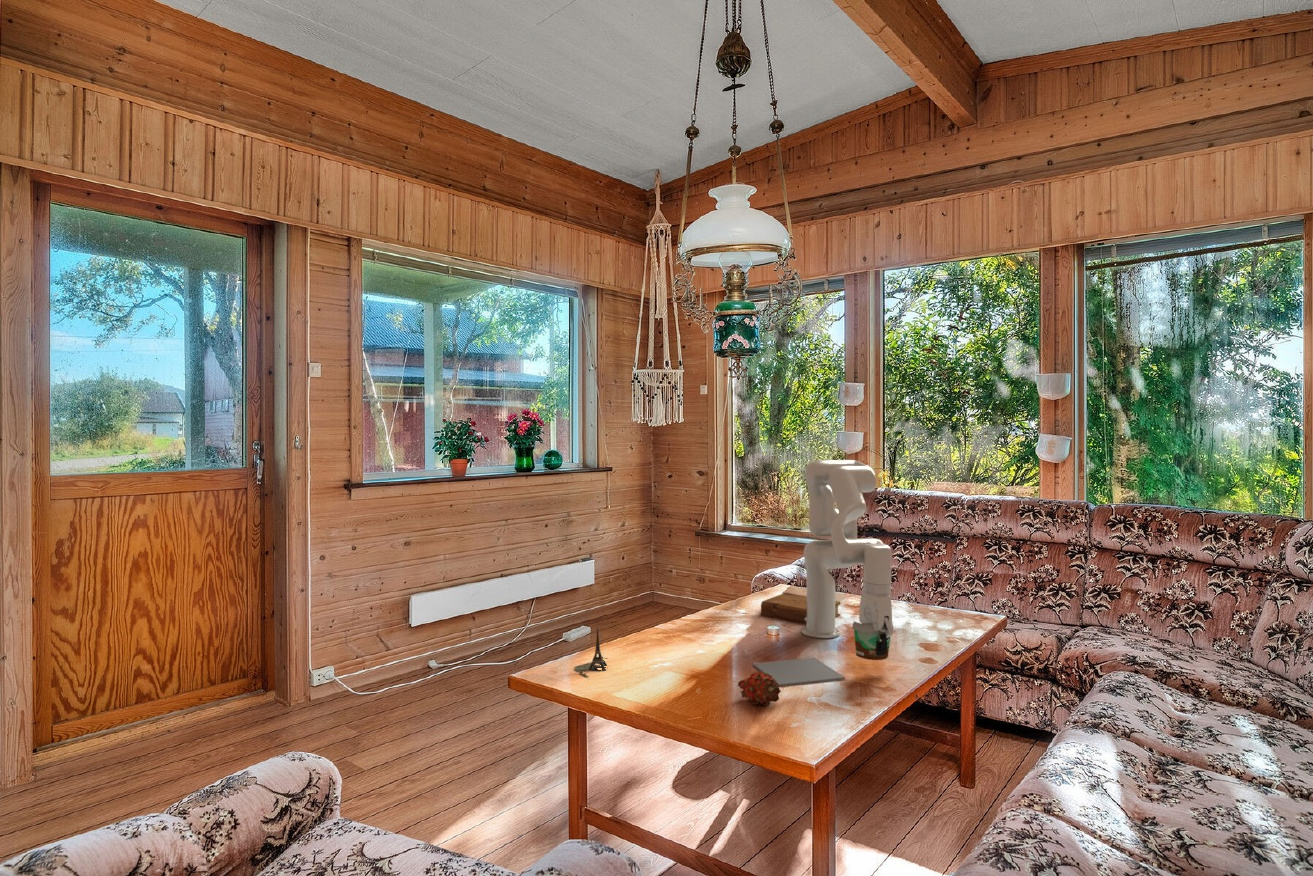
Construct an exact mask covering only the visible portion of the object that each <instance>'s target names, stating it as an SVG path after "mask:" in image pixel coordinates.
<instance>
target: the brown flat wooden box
mask: <svg viewBox="0 0 1313 876" xmlns="http://www.w3.org/2000/svg"><path fill="white" fill-rule="evenodd" d="M839 605H841V601H839V600H835V619H836V618H838V617H840V616H841V614H840V613H839ZM760 615H761V616H764V617H769V618H772V619H773V618H774V619H779V620H785V621H790V622H795V623H801V624H805V625H806V621H805V618H806V617H807V595H802V594H801V595H800V594H797V593H795V594H794V593H789V592H783V593H781V594H779V595H775V596H773V597H771V598H767V599H765V600H762V601H761V604H760Z"/></svg>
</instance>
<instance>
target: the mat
mask: <svg viewBox="0 0 1313 876" xmlns="http://www.w3.org/2000/svg"><path fill="white" fill-rule="evenodd" d="M752 666H753V667H754V668H756V669H757V671H758V672H762V673H763V674H764V673H768V674H769V675H771V676H772V677H773V679H775V680H776V681H777V683H778V684H779V688H780V687H788V686H796V685H806V684H807V685H809V684H815V683H814V682H818V683H825V682H826V683H827V682H834V681H833V680H836V681H841V680H840V679H845V680H846V677H845V676H843V675H842V674H841V673H839V672H838V671H836V670H835V669H833V668H832V667H830V666H829V665H827V664H825V663H824V662H822V661H820V660H819V659H818V658H816V657H806V658H805V657H804V658H795V659H784V660H775V661H773V660H771V661H765V662H753V664H752Z"/></svg>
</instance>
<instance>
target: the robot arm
mask: <svg viewBox="0 0 1313 876" xmlns="http://www.w3.org/2000/svg"><path fill="white" fill-rule="evenodd" d="M804 478H805V483H806V487H807V490H808V495H809V501H808V502H809V503H808V505H809V509H808V525H809V527H808V528H809V532H810V534H811V535H813V536H815V537H819V538H831V540H830V539H819V540H812V541H810V542H808V543H806V544H805V546H804V549H803V557H804V558H803V559H804V563H805V565H804V566H805V570H806V571H805V573H806V596H807V617H806V618H805V621H806V624H805V626H803V627H802V628H801V633H802V634H803V635H805V636H807V637H811V638H814V639H815V638H817V639H832V638H833V639H834V638H837V637H839V636H840V635H841V632H840V629H838V628H837V627H836V618H835V601H836V581H835V578H834V577H833V576H832V574H831V573H830V572H829V570H833V569H848V568H852V567H853V566H855V565H859V566H860V565H862V566H863V575H862V576H863V578H862V592H861V595H860V602H859V603H860V604H859V615H858V616H859V617H858V618H859V619H858V620H859V623H860V624H865V625H872V628H873V630H874V631H878V632H879V633H877V638H878V641H876V655H886V654H887V641H888V640H889V638H890V639H891V637H892V636H893V635H894V630H893V631H892V628H891V627H892V623H893V608H892V599H891V595H892V594H891V593H892V556H893V555H892V548H891V546H889V545H888V544H885V543H884V542H883V541H882V540H880V539H879V538H873V537H871V538H864V537H863V538H858V521H857V519H859V518H860V517H862V516H863V515H864V514H865V513H866V511H867V508H868V507H867V504H866V501H865V498H864V495H863V493H871V492H873V491H874V490H875V489H876V488H877V487H876V486H877V476H876V474H875V472H874V470H873V469H872V467H870V466H869V465H868V464H865V463H863V462H861V461H859V460H855V459H821V460H820V459H818V460H814V461H811V462H809V463H808V465H806V468H805V476H804ZM882 627H885V629H884V630H881V629H882ZM881 632H885V633H884V634H882V636H881Z"/></svg>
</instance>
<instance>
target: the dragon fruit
mask: <svg viewBox="0 0 1313 876" xmlns="http://www.w3.org/2000/svg"><path fill="white" fill-rule="evenodd" d="M737 687H739V689H741V691H740V695H741V697H742V698H745V699H747V698H748V699H750V700H751V701H750V702H751V704H752V705H758V704H759V703H760V704H761V705H762V706H768V705H770V702H772V703H775V702H778V701H779V700H780V697H779V695H780V693H781V692H782V690H780V687H779V684H778V683H777V681H776V680H775V679H773V677H772V676H771V675H769V674H768V673H764V674H763V673H762V672H761V671H754V672H753V673H750V676H749V677H745V678H744V679H741V680H739V682H738V683H737Z"/></svg>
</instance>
